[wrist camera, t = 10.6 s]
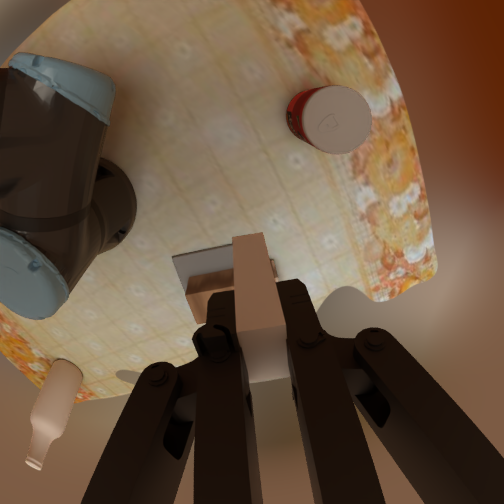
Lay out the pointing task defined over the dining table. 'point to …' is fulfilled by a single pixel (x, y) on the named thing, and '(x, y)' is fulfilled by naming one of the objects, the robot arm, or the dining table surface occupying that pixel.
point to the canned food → (330, 118)
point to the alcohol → (52, 409)
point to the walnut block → (210, 289)
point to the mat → (203, 262)
